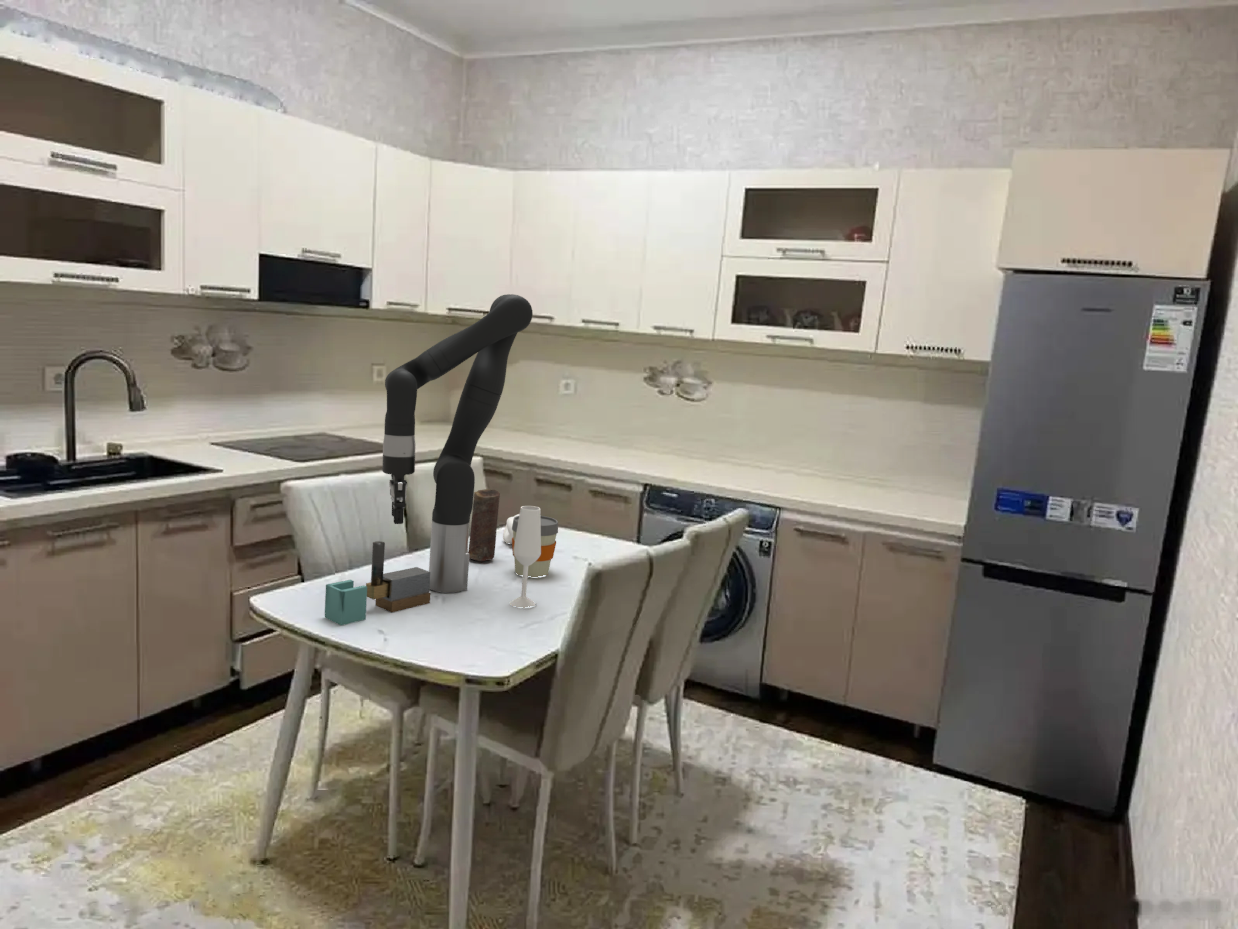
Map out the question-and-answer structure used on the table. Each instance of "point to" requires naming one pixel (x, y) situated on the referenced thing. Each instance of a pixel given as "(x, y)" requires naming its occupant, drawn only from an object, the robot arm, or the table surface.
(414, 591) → the sleeve
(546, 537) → the reusable coffee cup
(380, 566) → the board with post
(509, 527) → the white rounded piece
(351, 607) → the socket
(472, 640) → the table surface
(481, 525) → the candle
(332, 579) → the table surface
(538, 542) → the champagne flute
